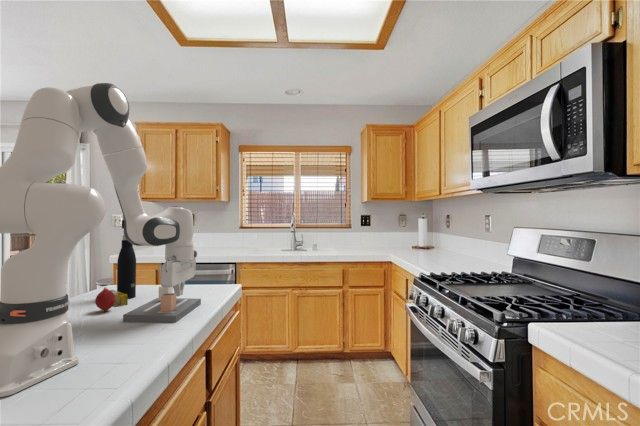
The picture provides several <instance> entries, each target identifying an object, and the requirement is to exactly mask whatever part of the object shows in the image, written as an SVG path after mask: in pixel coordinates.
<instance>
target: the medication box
mask: <svg viewBox="0 0 640 426" xmlns="http://www.w3.org/2000/svg"><path fill="white" fill-rule="evenodd" d="M109 290H110V291H112V293H113V294H114V295H115V297H116V301H115V304H114V305H116V306H119V307H123V306H127V305H128V300H129V299H128V297H127V294H124V293H121V292H118V291H117V290H114V289H109Z"/></svg>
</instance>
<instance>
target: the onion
mask: <svg viewBox="0 0 640 426" xmlns="http://www.w3.org/2000/svg"><path fill="white" fill-rule="evenodd" d="M110 290H111V289H109V288H107V287H106V286H104V288H103V289H102V290H101V291H100V292H99V293H98V294H97V295H96V296H95V300H94V301H95V302H94V303H95V305H96V307H97V308H98V309H99V310H101V311H103V312H107V311H108V310H110V309H112V307H114V305H116V304H115V301H116V297H115V295H114V294H113V293H112V291H110Z"/></svg>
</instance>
